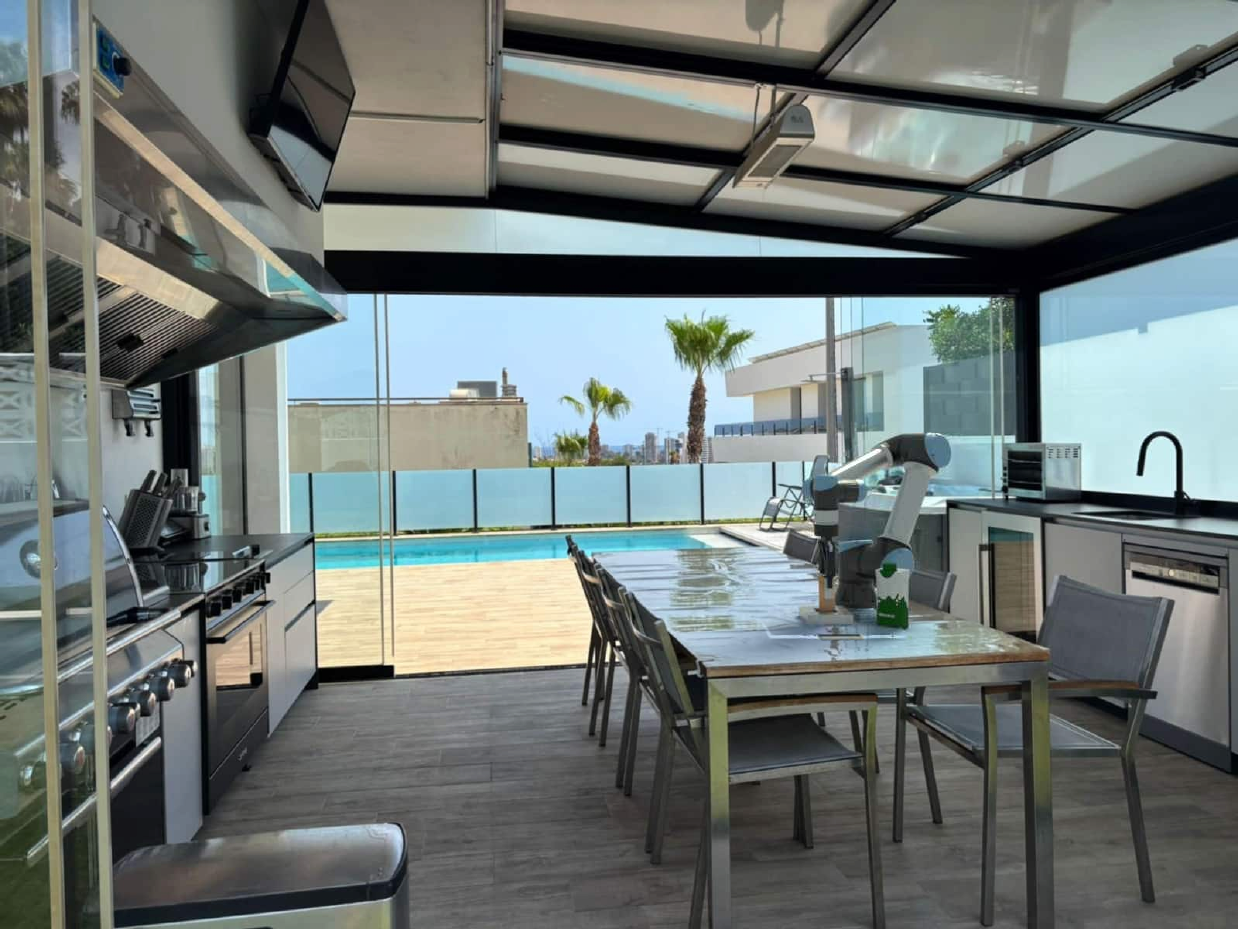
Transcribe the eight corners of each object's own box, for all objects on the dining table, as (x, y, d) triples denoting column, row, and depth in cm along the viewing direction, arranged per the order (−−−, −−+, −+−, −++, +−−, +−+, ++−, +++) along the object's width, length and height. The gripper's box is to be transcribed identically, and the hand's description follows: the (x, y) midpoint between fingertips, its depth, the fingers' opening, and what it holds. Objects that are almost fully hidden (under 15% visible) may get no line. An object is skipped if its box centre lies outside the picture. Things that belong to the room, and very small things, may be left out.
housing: (842, 618, 270) (842, 606, 270) (853, 627, 256) (853, 614, 256) (799, 618, 271) (799, 606, 271) (807, 627, 257) (807, 615, 257)
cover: (834, 609, 266) (834, 575, 266) (838, 613, 260) (838, 578, 260) (815, 610, 267) (815, 575, 266) (819, 613, 261) (819, 578, 260)
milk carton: (872, 628, 256) (872, 563, 255) (885, 623, 262) (885, 559, 262) (900, 632, 250) (900, 565, 249) (913, 627, 256) (912, 562, 256)
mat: (853, 630, 252) (853, 629, 252) (863, 640, 240) (863, 638, 240) (813, 630, 253) (813, 629, 253) (821, 640, 241) (821, 638, 241)
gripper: (808, 520, 272) (809, 591, 273) (820, 526, 253) (821, 602, 254) (831, 520, 272) (832, 591, 273) (845, 526, 253) (846, 602, 254)
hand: (826, 596), depth 263 cm, fingers closed on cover, 6 cm apart
